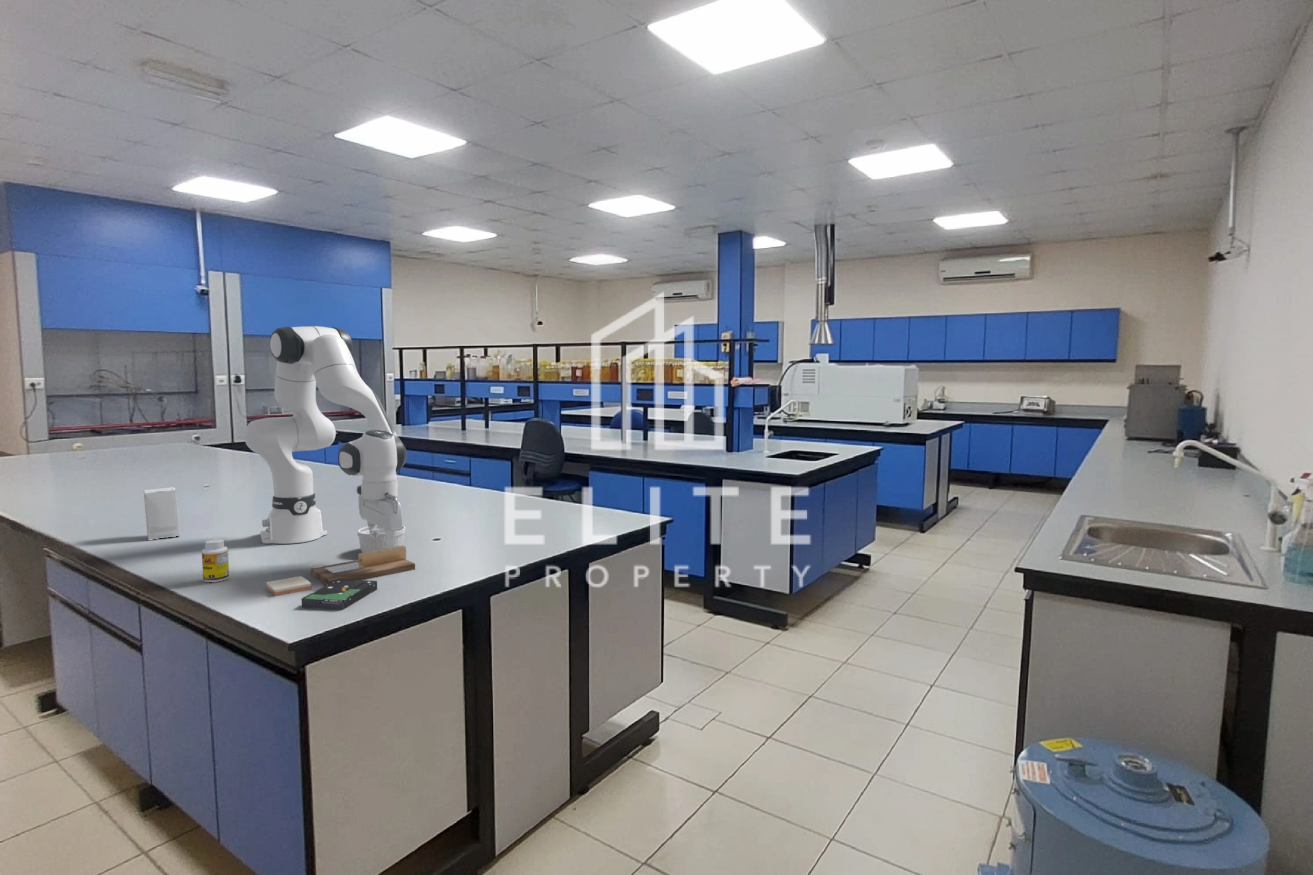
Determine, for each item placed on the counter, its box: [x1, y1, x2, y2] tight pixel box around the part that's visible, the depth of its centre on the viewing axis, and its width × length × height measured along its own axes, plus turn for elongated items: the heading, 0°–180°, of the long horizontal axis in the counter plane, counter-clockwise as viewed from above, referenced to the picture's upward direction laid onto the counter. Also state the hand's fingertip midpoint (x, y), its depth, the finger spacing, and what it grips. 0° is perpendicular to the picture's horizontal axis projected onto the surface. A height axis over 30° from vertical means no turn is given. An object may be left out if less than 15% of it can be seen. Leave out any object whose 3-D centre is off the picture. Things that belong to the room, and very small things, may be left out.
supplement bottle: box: [201, 538, 230, 583], centre depth 169 cm, size 6×6×10 cm
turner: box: [325, 545, 407, 575], centre depth 178 cm, size 20×6×3 cm, turn 135°
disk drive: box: [301, 579, 378, 611], centre depth 157 cm, size 10×3×15 cm
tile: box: [265, 575, 312, 597], centre depth 163 cm, size 2×8×8 cm
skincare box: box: [143, 486, 181, 540], centre depth 211 cm, size 8×7×16 cm
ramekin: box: [357, 525, 406, 553], centre depth 197 cm, size 13×13×7 cm
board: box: [310, 558, 416, 585], centre depth 177 cm, size 14×22×2 cm, turn 135°
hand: (381, 540), depth 181 cm, fingers open, 8 cm apart
